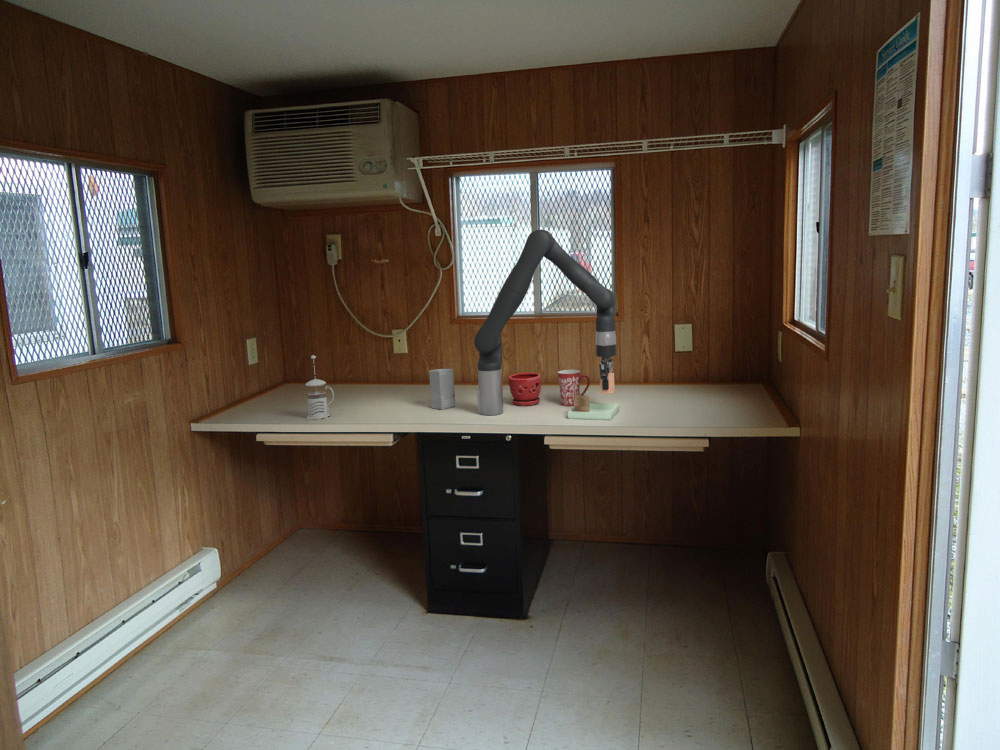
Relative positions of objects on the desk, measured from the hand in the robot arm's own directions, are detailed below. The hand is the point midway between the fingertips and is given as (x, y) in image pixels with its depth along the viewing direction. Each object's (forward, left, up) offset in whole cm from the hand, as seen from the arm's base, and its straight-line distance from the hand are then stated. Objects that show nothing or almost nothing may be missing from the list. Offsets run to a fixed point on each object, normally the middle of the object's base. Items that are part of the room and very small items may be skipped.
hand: (607, 388), depth 272 cm
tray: (-5, -3, -10) cm, 11 cm away
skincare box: (-69, +1, -10) cm, 69 cm away
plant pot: (-37, +12, -10) cm, 40 cm away
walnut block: (-8, -7, -9) cm, 14 cm away
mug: (-17, +14, -10) cm, 24 cm away
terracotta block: (0, 0, -2) cm, 2 cm away
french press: (-112, -23, -10) cm, 114 cm away
